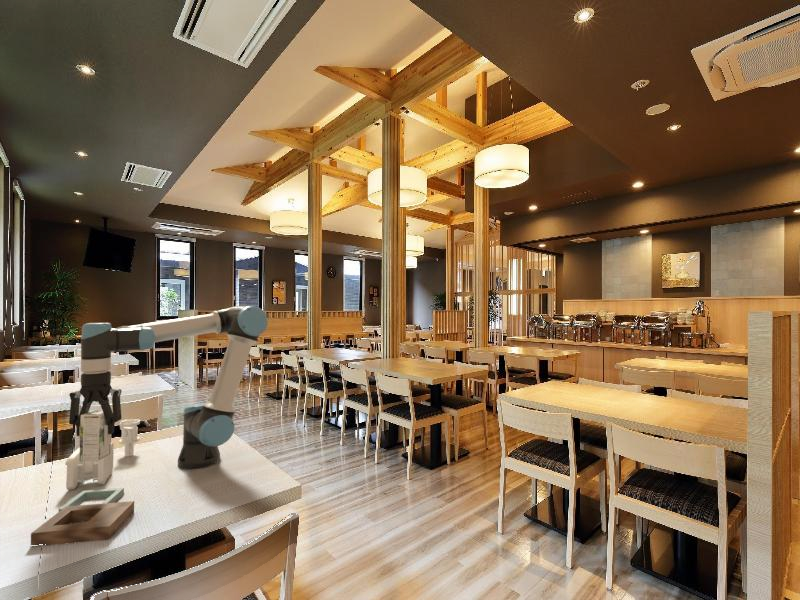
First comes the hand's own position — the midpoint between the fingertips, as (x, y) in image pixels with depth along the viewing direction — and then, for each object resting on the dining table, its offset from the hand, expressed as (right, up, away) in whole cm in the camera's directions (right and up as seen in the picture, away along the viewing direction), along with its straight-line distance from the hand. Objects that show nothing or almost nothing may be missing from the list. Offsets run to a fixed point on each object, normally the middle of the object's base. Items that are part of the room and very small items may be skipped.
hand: (95, 445), depth 124 cm
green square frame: (0, -18, -1) cm, 18 cm away
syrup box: (0, -4, 0) cm, 4 cm away
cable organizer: (-14, -19, +15) cm, 28 cm away
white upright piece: (-18, -19, +41) cm, 49 cm away
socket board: (+8, -18, -14) cm, 25 cm away
